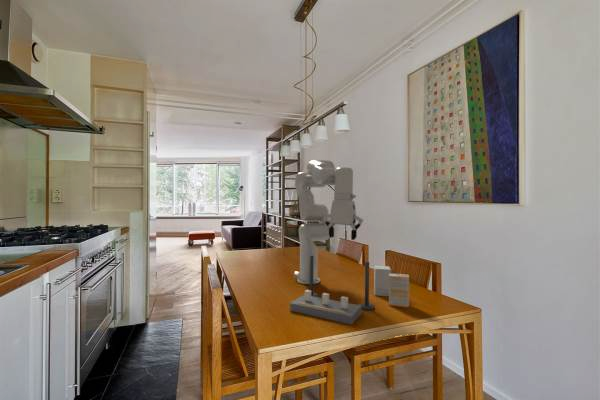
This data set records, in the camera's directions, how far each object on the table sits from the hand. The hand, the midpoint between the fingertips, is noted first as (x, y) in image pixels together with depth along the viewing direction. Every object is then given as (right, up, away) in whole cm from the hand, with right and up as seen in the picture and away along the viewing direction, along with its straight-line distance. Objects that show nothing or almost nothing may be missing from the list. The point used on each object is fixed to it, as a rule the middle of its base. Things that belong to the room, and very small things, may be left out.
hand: (342, 238), depth 123 cm
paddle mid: (-7, -26, -5) cm, 27 cm away
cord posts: (-1, -29, +7) cm, 30 cm away
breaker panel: (-7, -29, -5) cm, 30 cm away
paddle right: (0, -26, -9) cm, 27 cm away
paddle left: (-14, -26, -1) cm, 30 cm away
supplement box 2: (+25, -29, +3) cm, 39 cm away
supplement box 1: (+22, -29, +19) cm, 41 cm away
